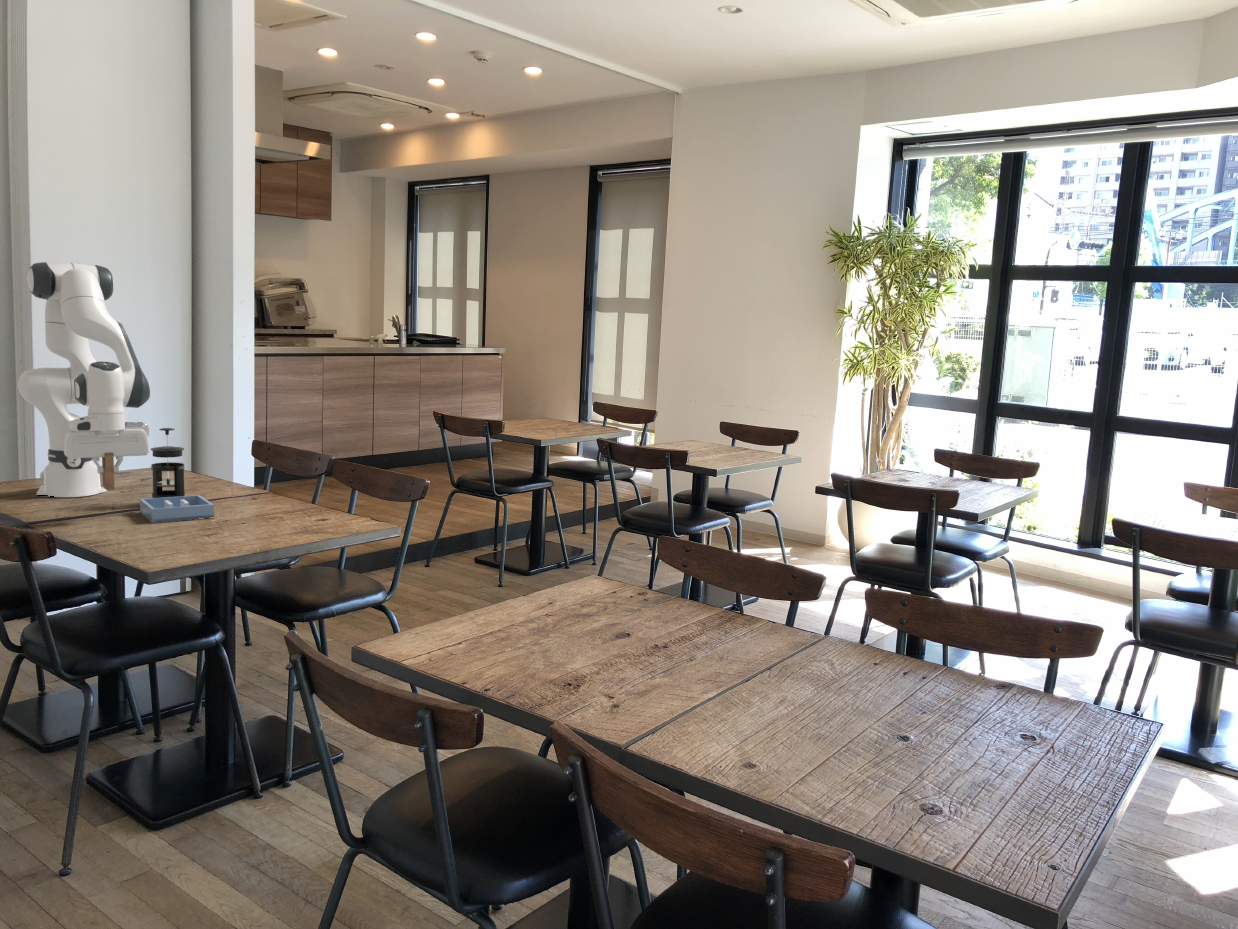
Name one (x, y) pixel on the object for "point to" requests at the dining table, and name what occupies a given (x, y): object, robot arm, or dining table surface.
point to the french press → (168, 466)
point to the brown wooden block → (108, 471)
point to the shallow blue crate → (176, 508)
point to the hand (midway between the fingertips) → (108, 472)
